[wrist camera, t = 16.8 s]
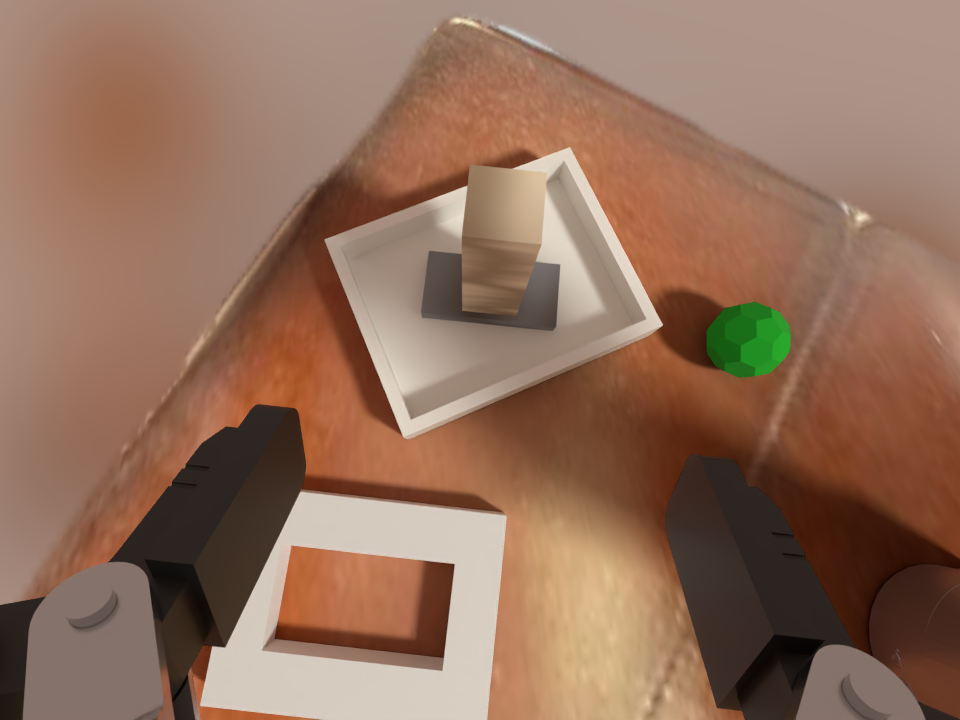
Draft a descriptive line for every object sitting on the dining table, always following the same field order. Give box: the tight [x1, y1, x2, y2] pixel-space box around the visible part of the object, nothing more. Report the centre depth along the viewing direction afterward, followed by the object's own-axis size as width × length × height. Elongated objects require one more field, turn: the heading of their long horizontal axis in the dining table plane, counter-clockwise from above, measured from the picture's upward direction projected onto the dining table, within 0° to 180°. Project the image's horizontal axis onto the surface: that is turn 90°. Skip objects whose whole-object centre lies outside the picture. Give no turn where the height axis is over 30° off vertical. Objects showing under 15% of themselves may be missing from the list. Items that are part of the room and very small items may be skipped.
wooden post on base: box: [421, 165, 560, 331], centre depth 29 cm, size 9×4×12 cm, turn 84°
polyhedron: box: [707, 302, 791, 378], centre depth 33 cm, size 5×5×5 cm
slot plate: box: [200, 489, 507, 720], centre depth 30 cm, size 16×12×2 cm
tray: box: [324, 147, 663, 440], centre depth 34 cm, size 18×14×3 cm
